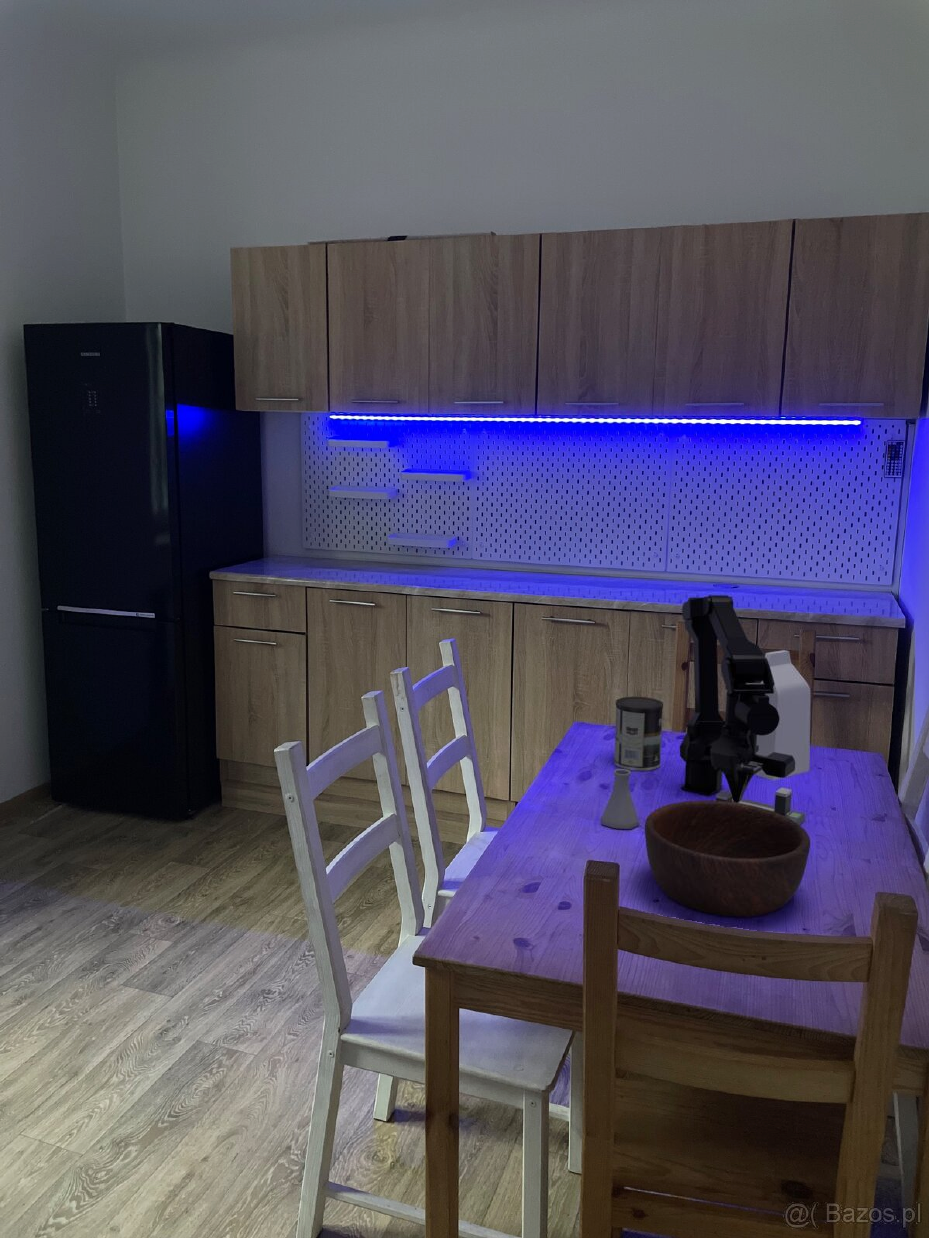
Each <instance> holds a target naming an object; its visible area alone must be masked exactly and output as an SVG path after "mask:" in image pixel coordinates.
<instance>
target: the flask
mask: <svg viewBox="0 0 929 1238" xmlns="http://www.w3.org/2000/svg"><path fill="white" fill-rule="evenodd" d="M613 775H614V783H613V787H612V791H611V794H610V795H609V798H608V801H607V803H606V806H605V808H604V810H603V813H602V815H601V818H600V819H601V825H603V826H606V827H609V828H613V829H619V830H620V829H621V830H632V829H634V828H636V827H638V826H640V822H639V821H640V820H639V817H638V814H637V810H636V808H635V804H634V802H633V798H632V795H631V791H630V784H629V782H630V781H629V779H630V776H631V770H627V769H623V768H617V769H615V770H613Z"/></svg>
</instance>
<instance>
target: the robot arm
mask: <svg viewBox="0 0 929 1238" xmlns="http://www.w3.org/2000/svg"><path fill="white" fill-rule="evenodd" d="M681 608H682V609H681V613H682V615H681V616H682V619H683V620H684V628H685V630H686V632H687V633H688V635H689V636H690V637H691V639H692V642H693V671H694V672H693V677H694V681H693V683H694V713H693V715H692V716H691V718H690V720H689V722H688V723H687V726H686V733H685V736H684V737H683V739H682V741H681V743H680V745H679V756H680V758H681V759H682V760H683V761H684V762H685V767H684V768H685V769H684V770H685V772H684V784H682V785H680V789H681V790H685V791H689V792H691V793H697V794H701V795H705V796H712V795H714V794H715V793H716V792H717V793H718V792H719V791H721V789H722V788H723V775H724V777H725V779H726V782H727V785H728V788H729V792H731V795H732V798H733V801H734V802H736V803H739V802H740V800H741V798H743V795H744V794H745V792H746V791H747V787H748V786H749V784H750V782H751V780H752V778H753V777H754V776H755V774H756V773H758V772H759V771H761V770H763V771H764V773H765V774H766V775H769V776H774V777H779V778H781V779H784V778H787V777H786V776H788V775H789V774H791V773H792V772H793V771H795V760H794V758H793V756H792V755H786V754H781V753H776V752H773V753H771V754H770V755H768V756H767V757H766V756H761V755H756V752H758V750H759V746H758V745H757V735H761V736H763V735H768V734H770V733H772V732H773V731H774V730H775V729H776V728H777V726H778V724H779V719H780V717H779V714H778V711H777V709H776V708H775V707H774V706H773V705H771V704H770V703H769V696H767V695H765V694H773V693H774V689H773V686H774V685H775V683H774V679H773V676H772V672H771V669H770V665H769V663H768V660H767V658H765V654H764V652H763V651H762V649H761V648H760V646H758V645H757V644H756V643H754V642H752V641H750V640H749V639H748V637H747V635H746V633H745V631H744V628H743V626H742V623H741V621H740V620H739V618H738V615H737V613H736V610H735V608H734V600H733V597H732V596H729V595H728V594H723V595H722V594H719V595H718V594H713V595H712V594H709V595H707V596H704V597H703V596H700V597H695V596H692V597H691V596H690V597H689V598H688V599H687V601H684V602H683V604H682V607H681ZM718 642H719V644H720V647H721V650H722V652H723V655H722V659H721V661H720V669H721V670H720V671H721V676H722V680H723V682H724V685H725V689H726V690H727V691H726V700H725V717H724V718H725V719H723V717H722V716H721V714H720V711H719V710H720V709H719V705H720V704H719V678H718V677H719V674H718V673H719V671H718V670H719V669H718V668H719V667H718V666H719V664H718V662H719V661H718ZM762 681H763V683H764V684H746V683H761V682H762ZM741 764H742V767H741Z"/></svg>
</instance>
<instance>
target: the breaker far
mask: <svg viewBox="0 0 929 1238" xmlns="http://www.w3.org/2000/svg"><path fill="white" fill-rule="evenodd" d="M792 794H793V790H792V789H791V788H790V789H789V788H786V787H785V788H784V787H780V788H779V789H777V790H776V791H775V795H774V806H775V808H774V812H776V813H780V814H784V815H785V814H786V813H788V812H789V811H790V810H792V809H791V807H792V796H793V795H792Z"/></svg>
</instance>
